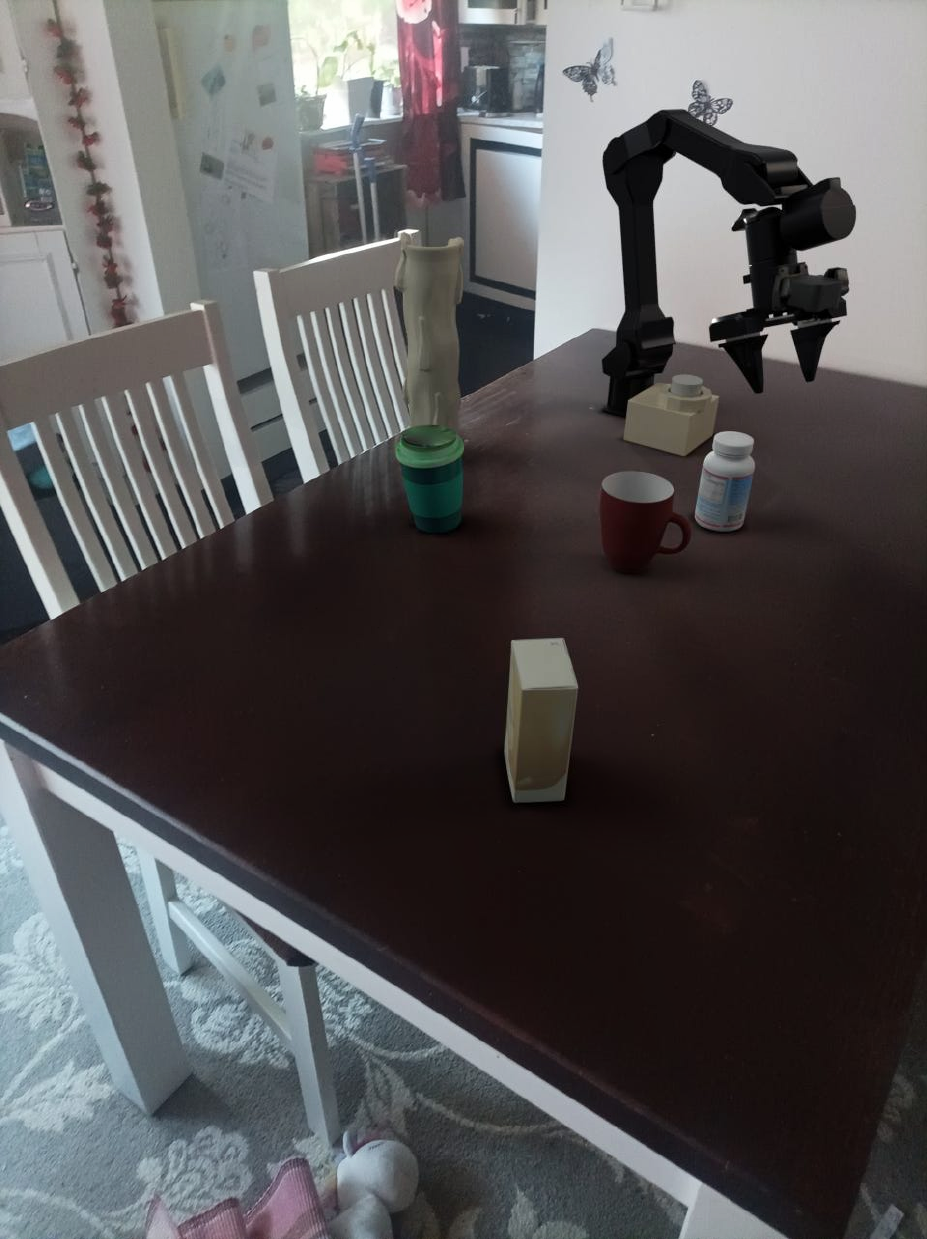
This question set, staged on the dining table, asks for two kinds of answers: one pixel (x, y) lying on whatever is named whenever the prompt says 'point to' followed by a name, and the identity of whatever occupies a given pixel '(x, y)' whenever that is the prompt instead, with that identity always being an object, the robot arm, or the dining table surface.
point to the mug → (637, 519)
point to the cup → (432, 476)
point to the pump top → (686, 386)
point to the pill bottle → (726, 482)
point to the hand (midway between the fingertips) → (785, 387)
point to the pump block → (670, 419)
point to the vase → (431, 330)
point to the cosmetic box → (539, 719)
